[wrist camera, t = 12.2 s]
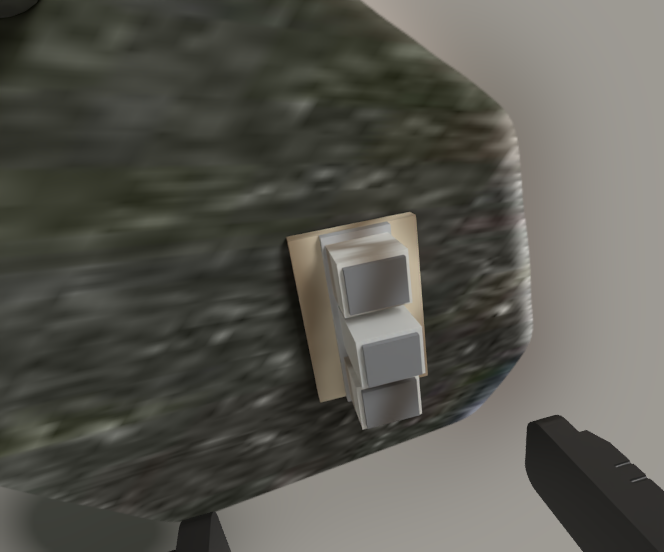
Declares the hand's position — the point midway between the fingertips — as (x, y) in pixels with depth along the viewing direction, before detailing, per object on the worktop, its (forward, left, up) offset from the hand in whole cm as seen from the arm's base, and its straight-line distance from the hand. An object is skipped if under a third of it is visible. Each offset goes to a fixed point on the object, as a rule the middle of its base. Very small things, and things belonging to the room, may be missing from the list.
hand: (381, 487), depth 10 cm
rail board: (+6, -11, -30) cm, 32 cm away
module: (+6, -11, -27) cm, 30 cm away
